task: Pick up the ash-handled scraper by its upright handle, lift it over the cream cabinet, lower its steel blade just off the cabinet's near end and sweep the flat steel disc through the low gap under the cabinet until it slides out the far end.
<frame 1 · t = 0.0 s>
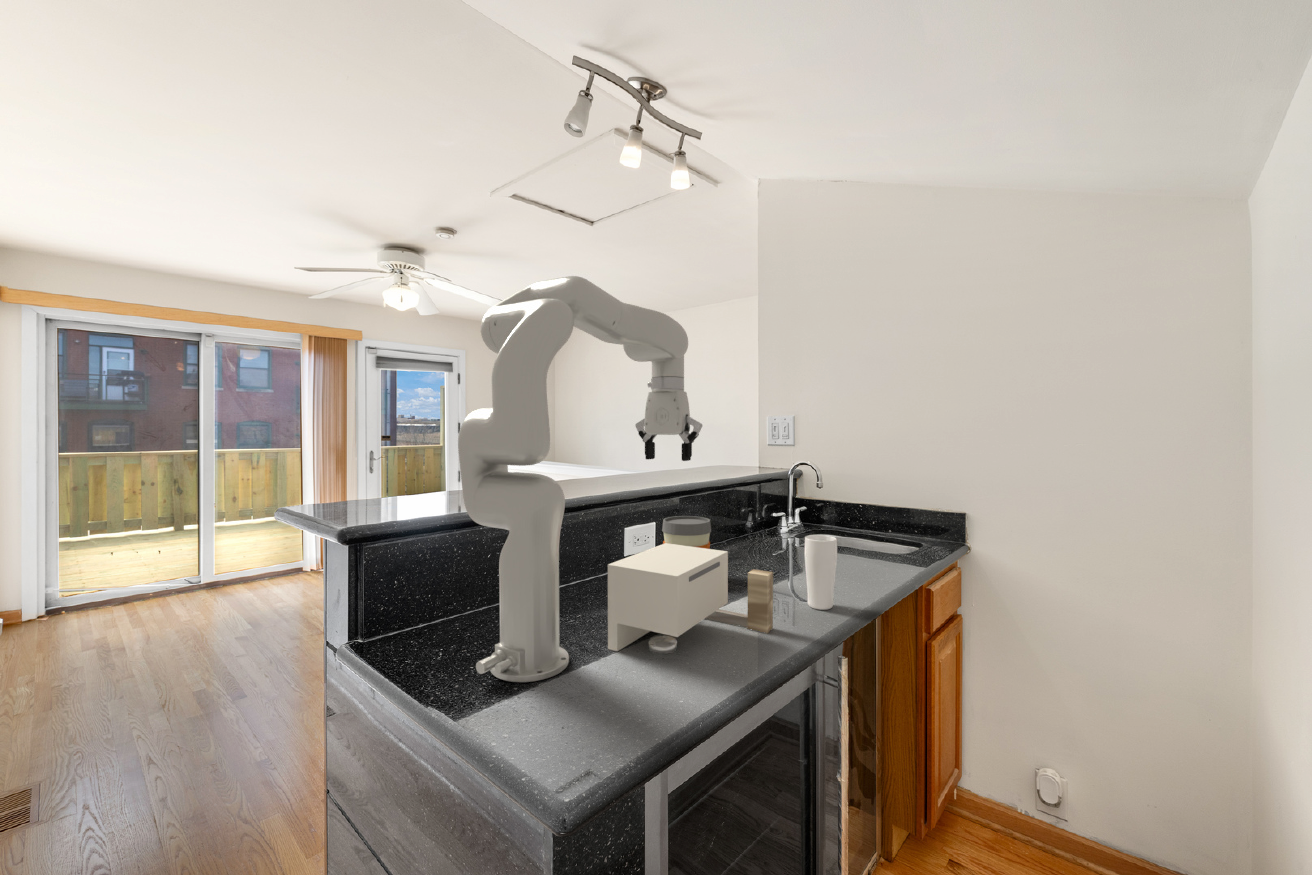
hand: (667, 459, 128), 31 cm above the counter, tool pointing down, fingers open, 9 cm apart
cabinet: (670, 638, 102), on the counter
reusable coffee cup: (686, 578, 141), on the counter
scraper: (760, 628, 107), on the counter
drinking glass: (820, 607, 119), on the counter
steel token: (662, 649, 98), on the counter
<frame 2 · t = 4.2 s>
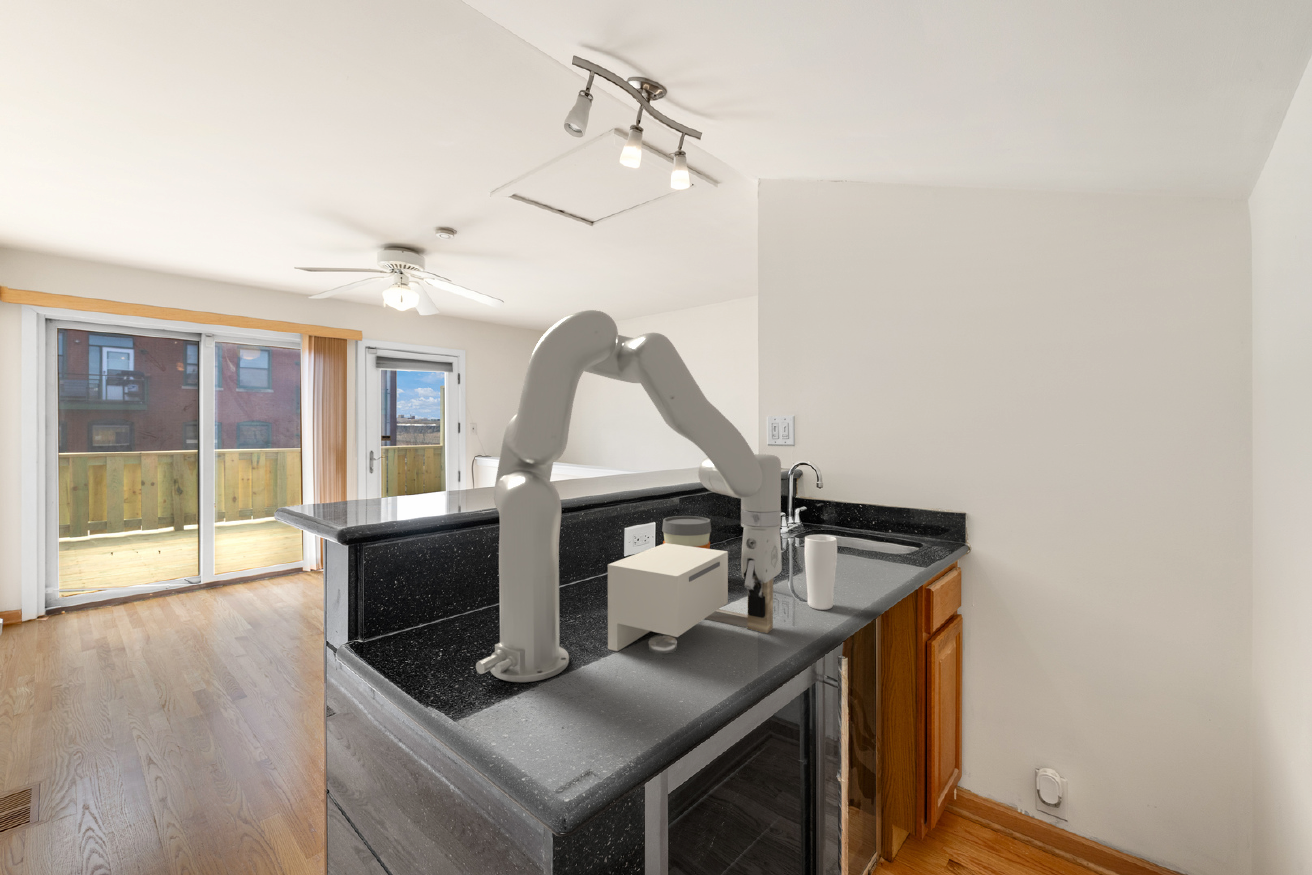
hand: (760, 612, 106), 3 cm above the counter, tool pointing down, fingers closed on scraper, 3 cm apart
scraper: (760, 628, 107), on the counter, touching gripper
everything else where it was.
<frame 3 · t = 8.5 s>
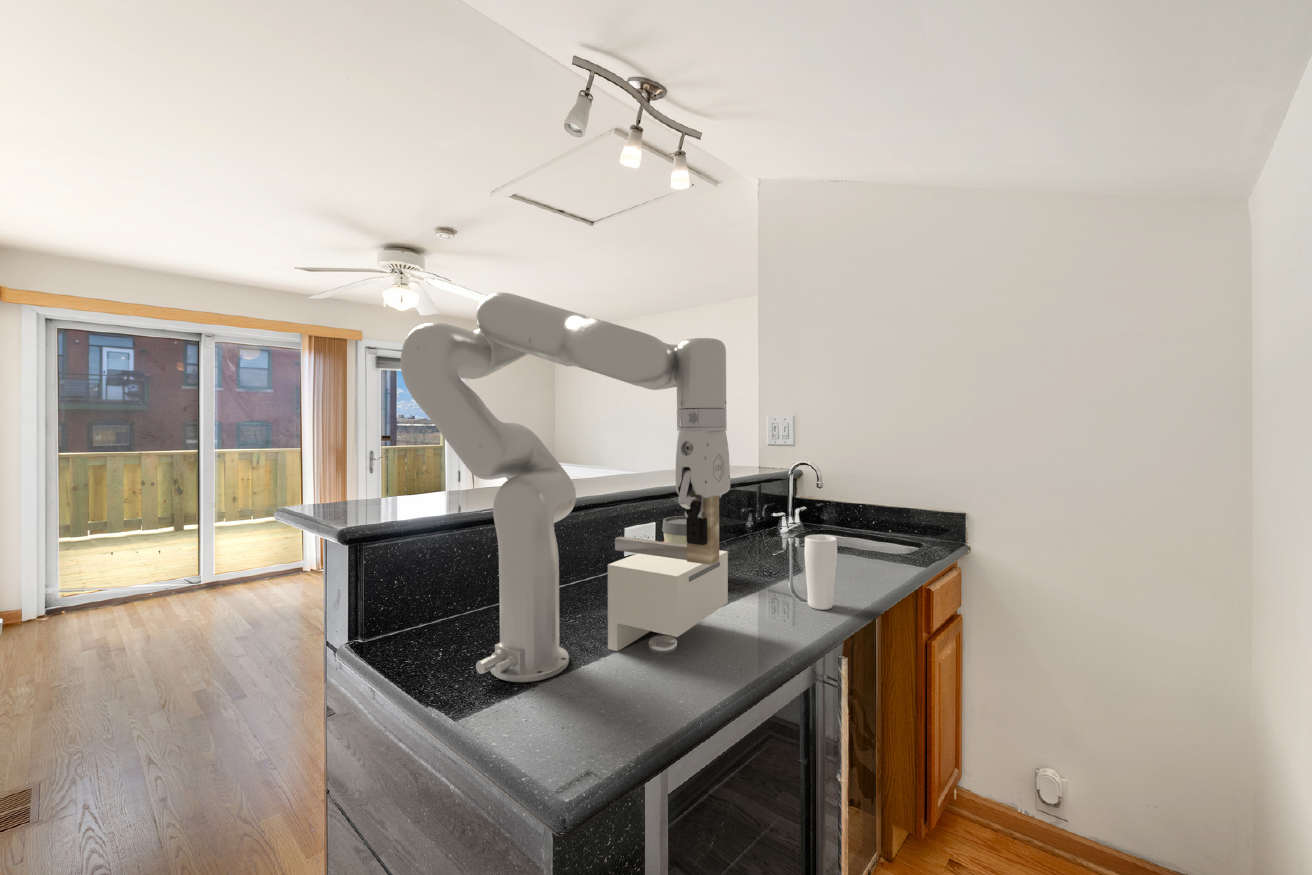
hand: (702, 540, 84), 22 cm above the counter, tool pointing down, fingers closed on scraper, 3 cm apart
scraper: (703, 561, 84), point 19 cm above the counter, touching gripper
everything else where it was.
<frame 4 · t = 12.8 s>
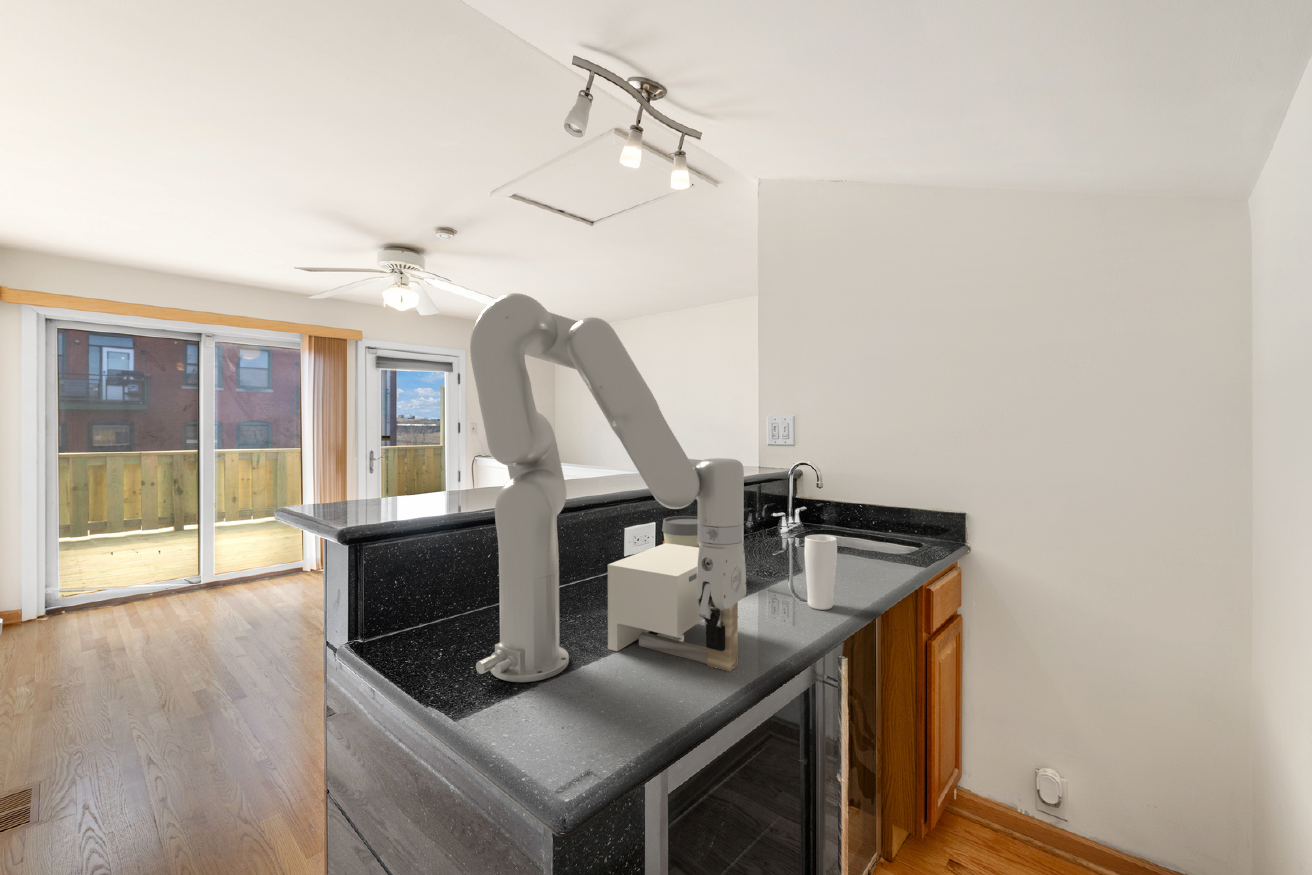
hand: (720, 644, 91), 3 cm above the counter, tool pointing down, fingers closed on scraper, 2 cm apart
scraper: (722, 665, 91), on the counter, touching gripper, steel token
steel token: (670, 644, 100), on the counter, touching scraper
everything else where it was.
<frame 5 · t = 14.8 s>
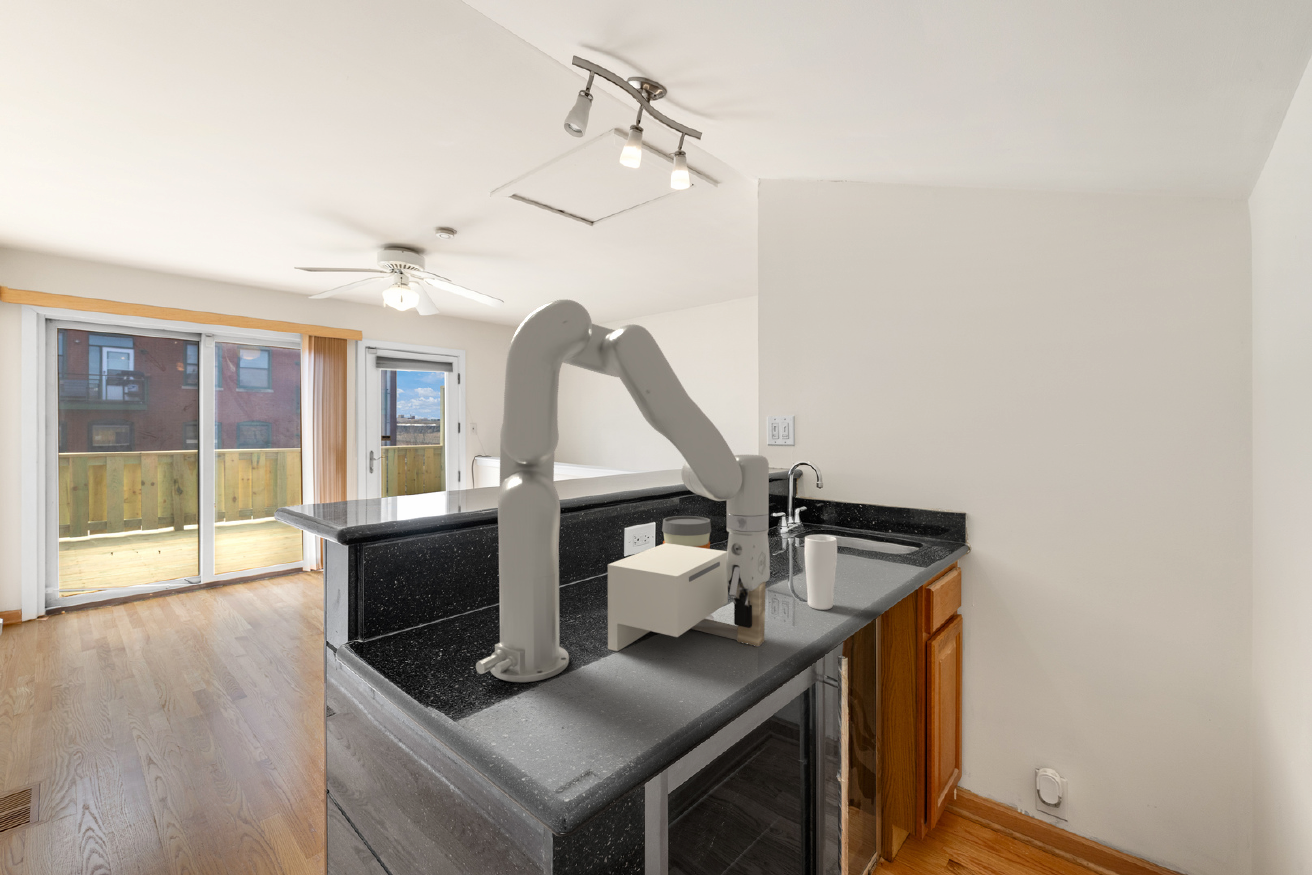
hand: (746, 621, 101), 3 cm above the counter, tool pointing down, fingers closed on scraper, 3 cm apart
scraper: (750, 641, 100), on the counter, touching gripper, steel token
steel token: (701, 624, 109), on the counter, touching scraper
everything else where it was.
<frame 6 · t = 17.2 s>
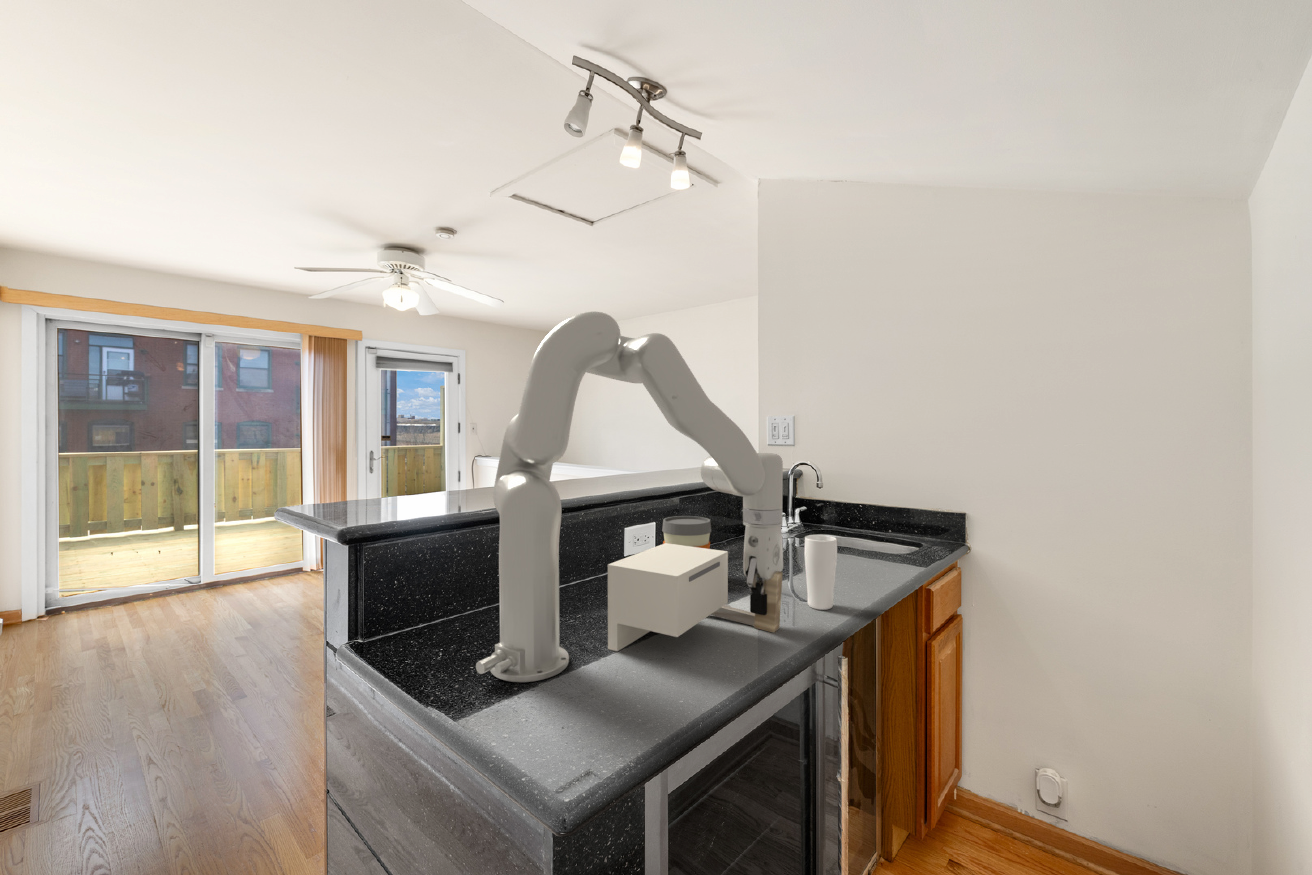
hand: (762, 609, 107), 3 cm above the counter, tool pointing down, fingers closed on scraper, 3 cm apart
scraper: (766, 627, 107), on the counter, touching gripper
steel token: (718, 613, 116), on the counter
everything else where it was.
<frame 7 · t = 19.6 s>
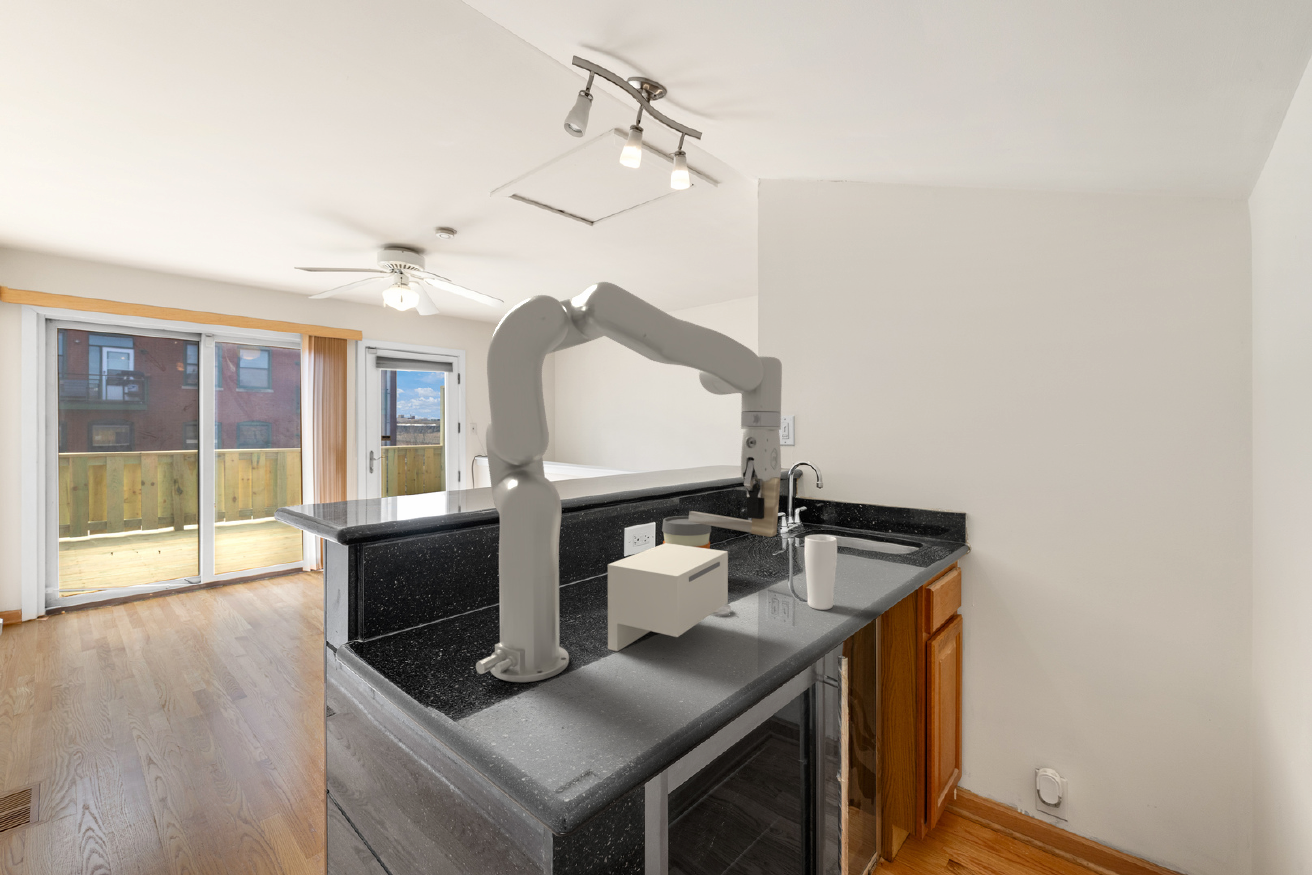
hand: (759, 516, 106), 22 cm above the counter, tool pointing down, fingers closed on scraper, 3 cm apart
scraper: (763, 533, 106), point 18 cm above the counter, touching gripper
everything else where it was.
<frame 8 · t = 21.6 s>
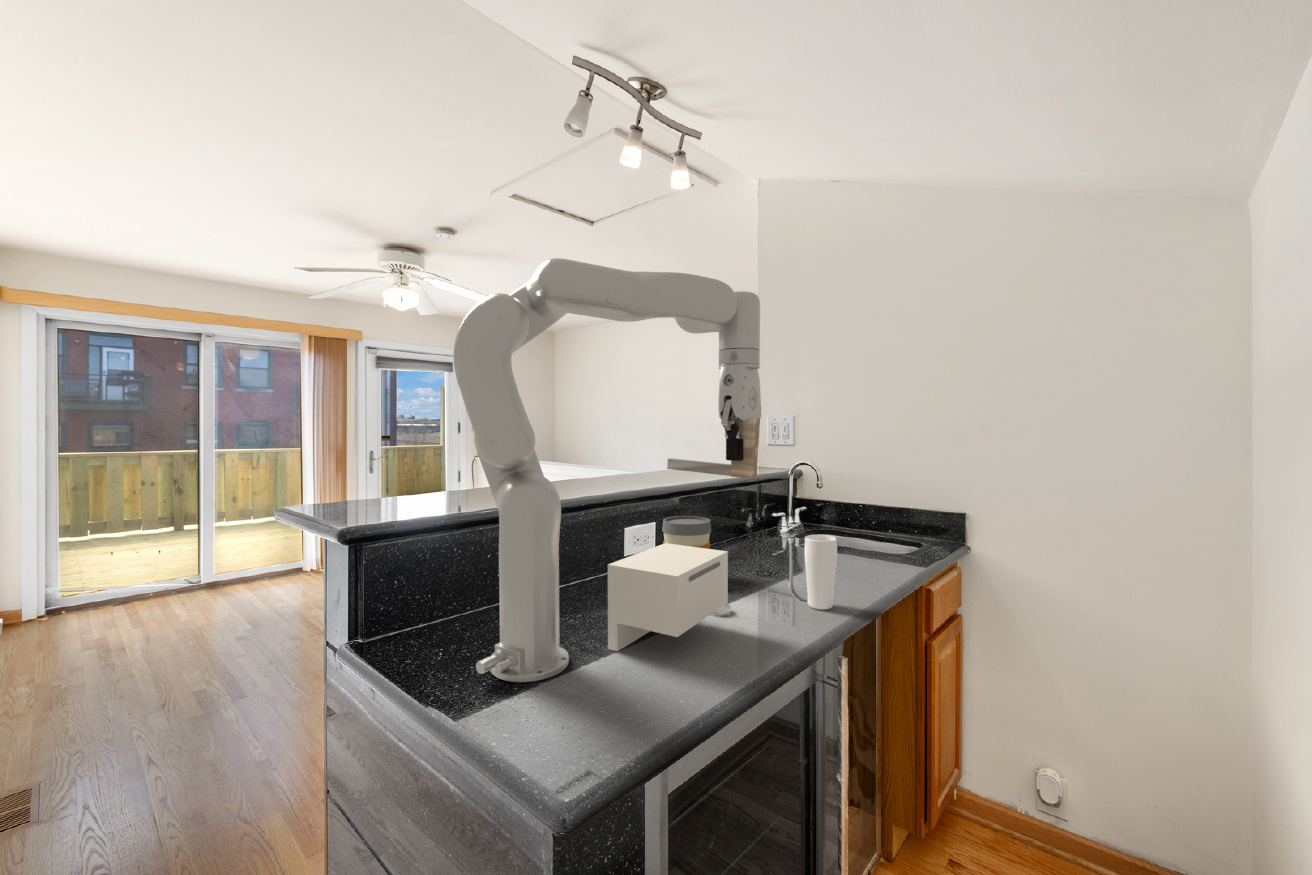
hand: (738, 458, 103), 33 cm above the counter, tool pointing down, fingers closed on scraper, 3 cm apart
scraper: (743, 476, 102), point 30 cm above the counter, touching gripper
everything else where it was.
at the end: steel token inside the target area (3.0 cm from its centre), on the counter; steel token moved 21.8 cm from its start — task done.
